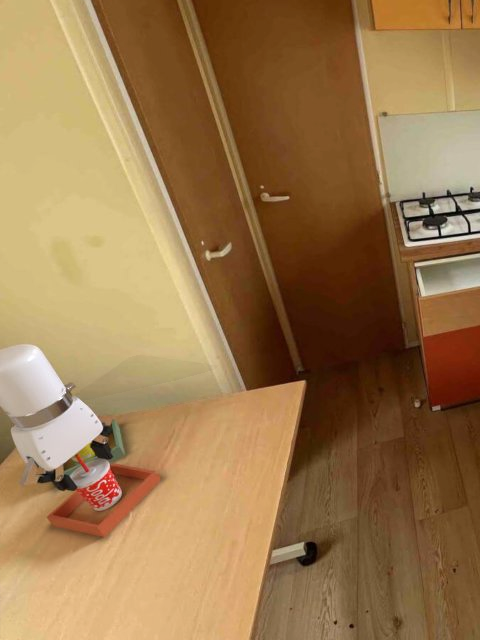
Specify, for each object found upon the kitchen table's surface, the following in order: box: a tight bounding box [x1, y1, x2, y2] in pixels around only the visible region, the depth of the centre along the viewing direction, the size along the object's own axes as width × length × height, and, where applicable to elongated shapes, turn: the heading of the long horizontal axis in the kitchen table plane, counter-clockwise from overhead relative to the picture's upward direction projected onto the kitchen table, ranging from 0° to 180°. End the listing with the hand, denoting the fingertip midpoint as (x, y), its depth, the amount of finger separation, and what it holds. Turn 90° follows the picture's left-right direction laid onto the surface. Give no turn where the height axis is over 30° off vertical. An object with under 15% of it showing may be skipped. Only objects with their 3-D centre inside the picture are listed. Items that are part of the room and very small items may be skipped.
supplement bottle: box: [70, 442, 96, 465], centre depth 96 cm, size 5×5×10 cm
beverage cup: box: [70, 454, 123, 512], centre depth 85 cm, size 6×6×14 cm
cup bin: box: [46, 462, 161, 538], centre depth 88 cm, size 12×12×4 cm
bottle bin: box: [64, 418, 126, 476], centre depth 97 cm, size 11×11×4 cm
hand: (88, 472), depth 84 cm, fingers closed on beverage cup, 6 cm apart
